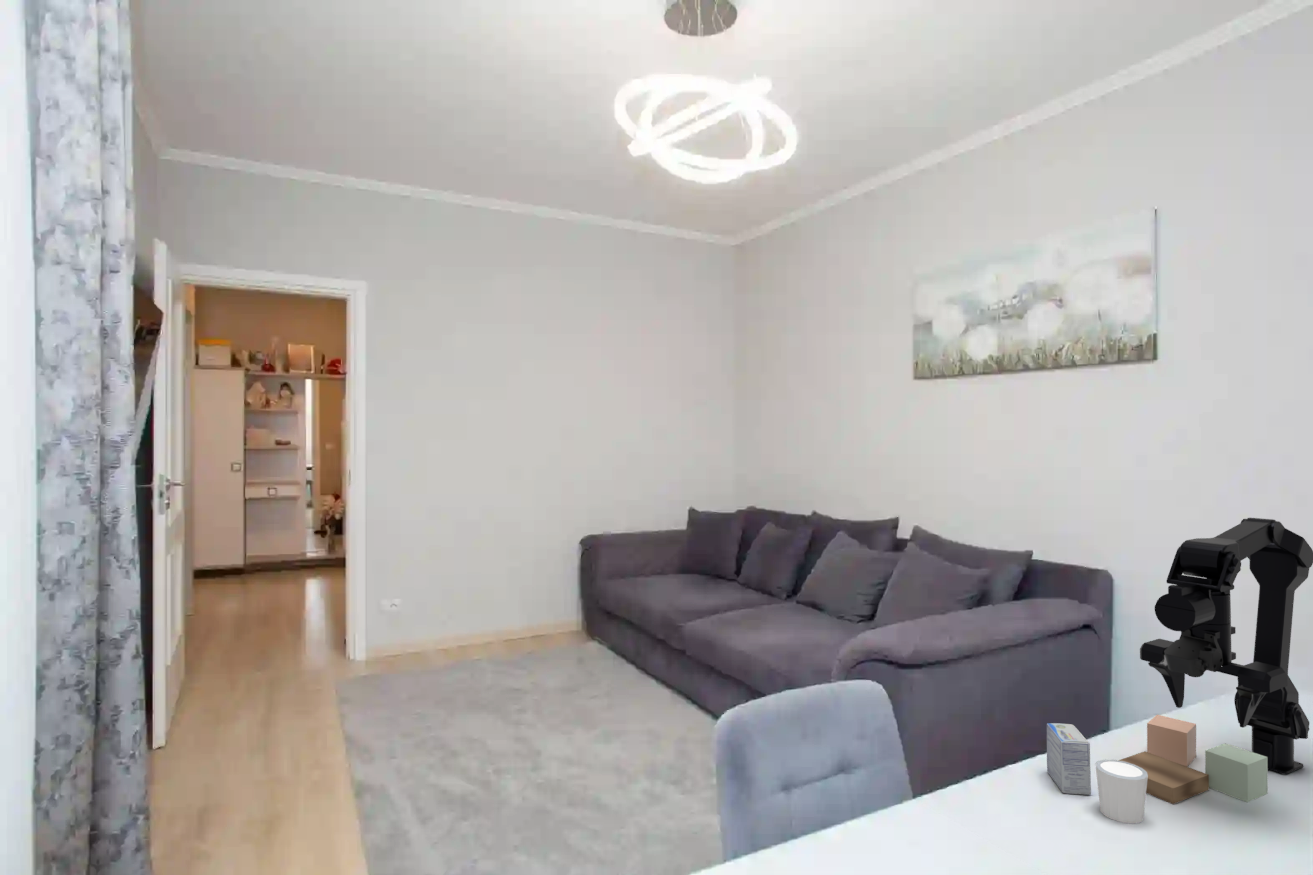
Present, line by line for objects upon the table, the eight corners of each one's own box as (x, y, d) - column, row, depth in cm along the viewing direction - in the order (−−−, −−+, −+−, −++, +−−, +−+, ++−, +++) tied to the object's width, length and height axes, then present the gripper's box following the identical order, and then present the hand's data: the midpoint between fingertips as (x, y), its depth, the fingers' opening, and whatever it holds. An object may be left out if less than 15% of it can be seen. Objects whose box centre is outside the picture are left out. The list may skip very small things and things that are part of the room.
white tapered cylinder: (1130, 830, 110) (1130, 782, 109) (1085, 809, 116) (1085, 764, 116) (1158, 818, 113) (1157, 772, 113) (1112, 798, 119) (1112, 755, 119)
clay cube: (1157, 746, 138) (1157, 714, 138) (1196, 757, 134) (1196, 723, 134) (1147, 756, 134) (1147, 723, 134) (1187, 767, 130) (1187, 733, 130)
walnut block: (1145, 765, 130) (1145, 751, 130) (1208, 789, 121) (1208, 774, 121) (1109, 777, 126) (1109, 763, 126) (1173, 804, 117) (1173, 788, 117)
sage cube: (1225, 778, 125) (1225, 743, 125) (1267, 794, 120) (1267, 756, 120) (1205, 786, 123) (1205, 750, 123) (1247, 802, 117) (1247, 764, 117)
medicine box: (1091, 796, 120) (1091, 742, 120) (1061, 793, 121) (1061, 740, 120) (1074, 774, 127) (1074, 723, 127) (1046, 771, 128) (1045, 721, 128)
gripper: (1118, 614, 124) (1120, 707, 124) (1248, 643, 107) (1250, 750, 108) (1158, 605, 129) (1160, 694, 129) (1288, 630, 112) (1290, 733, 113)
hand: (1210, 716), depth 120 cm, fingers open, 9 cm apart
